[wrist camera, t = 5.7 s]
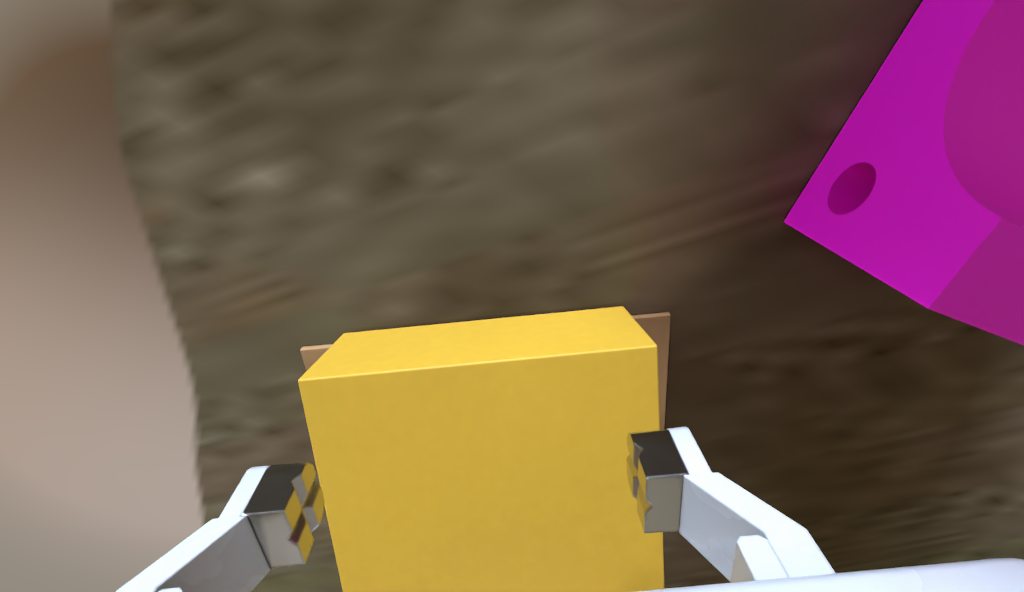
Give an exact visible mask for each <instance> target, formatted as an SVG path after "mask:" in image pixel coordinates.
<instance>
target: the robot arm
mask: <svg viewBox="0 0 1024 592" xmlns="http://www.w3.org/2000/svg"><path fill="white" fill-rule="evenodd" d="M627 447H628V450H629V453H630V455H629V456H628V457H627V475H628V481H629V486H630V490H631V493H632V496H633V497H634V498H635V499H637V512H638V515H639V518H640V521H641V524H642V528H643V531H644V533H657V532H673V531H679V533H680V534H681V535H682V536H683V537H684V538H685V539H686V540H687V541H688V542H689V543H690V544H691V545H692V546H694V547H695V548H696V549H697V550H698V551H699V552H700V553H701V554H702V555H703V556H704V557H705V558H706V559H707V560H708V561H709V562H710V563H711V564H712V565H713V566H714V567H716V568H717V569H718V570H719V571H720V572H721V573H722V574H723V575H724V576H725V577H726V578H727V579H728V580H729V581H730V583H723V584H711V585H700V586H689V587H678V588H667V589H656V590H645V591H634V592H1024V560H1023V559H1015V558H999V559H984V560H974V561H965V562H955V563H943V564H932V565H921V566H910V567H899V568H888V569H877V570H866V571H855V572H844V573H835V572H834V570H833V569H832V567H831V565H830V564H829V562H828V561H827V559H826V558H825V556H824V555H823V553H822V552H821V550H820V549H819V547H818V546H817V544H816V543H815V541H814V540H813V538H812V537H811V535H810V533H809V532H808V530H807V529H806V528H804V527H803V526H801V525H799V524H798V523H796V522H795V521H793V520H792V519H790V518H789V517H787V516H785V515H784V514H782V513H781V512H779V511H778V510H776V509H775V508H773V507H771V506H770V505H768V504H767V503H765V502H764V501H762V500H760V499H759V498H757V497H756V496H754V495H753V494H751V493H750V492H748V491H746V490H745V489H743V488H742V487H740V486H739V485H737V484H736V483H734V482H732V481H731V480H729V479H728V478H726V477H725V476H723V475H721V474H720V473H718V472H717V473H712V471H711V469H710V467H709V465H708V464H707V462H706V460H705V458H704V456H703V454H702V452H701V450H700V448H699V447H698V445H697V443H696V441H695V439H694V437H693V435H692V433H691V431H690V430H689V428H687V427H678V428H669V429H662V430H652V431H642V432H632V433H628V435H627ZM315 476H316V471H315V469H314V466H313V464H311V463H296V464H282V465H271V466H258V467H251V468H250V469H248V470H247V471H246V473H245V474H244V476H243V478H242V479H241V481H240V483H239V485H238V486H237V488H236V490H235V491H234V493H233V495H232V496H231V498H230V500H229V501H228V503H227V505H226V507H225V508H224V510H223V512H222V513H221V515H220V517H219V518H217V519H212V520H211V521H209V522H208V523H207V524H205V525H204V526H203V527H201V528H200V529H199V530H197V531H196V532H194V533H193V534H192V535H191V536H189V537H188V538H187V539H185V540H184V541H183V542H181V543H180V544H178V545H177V546H176V547H175V548H173V549H172V550H170V551H169V552H168V553H166V554H165V555H164V556H162V557H161V558H160V559H158V560H157V561H156V562H154V563H153V564H152V565H150V566H149V567H148V568H146V569H145V570H144V571H142V572H141V573H140V574H138V575H137V576H136V577H134V578H133V579H132V580H130V581H129V582H128V583H126V584H125V585H124V586H122V587H121V588H120V589H118V590H117V591H116V592H251V591H252V590H253V589H254V588H255V587H256V586H257V585H258V584H259V582H260V581H261V580H262V579H263V578H264V577H265V576H266V575H267V574H268V573H269V572H270V568H278V567H287V566H295V565H303V564H305V563H306V560H307V558H308V555H309V552H310V550H311V547H312V544H313V541H314V539H313V537H312V534H311V532H312V531H313V530H315V529H316V528H317V527H318V526H319V525H320V522H321V519H322V516H323V510H324V496H323V492H322V489H321V486H319V485H318V484H317V483H315V482H314V478H315Z"/></svg>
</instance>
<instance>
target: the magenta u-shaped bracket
mask: <svg viewBox="0 0 1024 592" xmlns="http://www.w3.org/2000/svg"><path fill="white" fill-rule="evenodd" d="M784 223H786V224H787V225H789V226H791V227H792V228H794V229H796V230H797V231H799V232H801V233H802V234H804V235H806V236H807V237H809V238H811V239H812V240H814V241H816V242H817V243H819V244H821V245H822V246H824V247H826V248H827V249H829V250H831V251H832V252H834V253H836V254H837V255H839V256H841V257H842V258H844V259H846V260H848V261H849V262H851V263H853V264H854V265H856V266H858V267H859V268H861V269H863V270H864V271H866V272H868V273H869V274H871V275H873V276H874V277H876V278H878V279H879V280H881V281H883V282H884V283H886V284H888V285H889V286H891V287H893V288H894V289H896V290H898V291H899V292H901V293H903V294H904V295H906V296H908V297H909V298H911V299H913V300H914V301H916V302H918V303H919V304H921V305H923V306H924V307H926V308H928V309H930V310H933V311H935V312H938V313H940V314H943V315H946V316H948V317H951V318H953V319H956V320H959V321H961V322H964V323H966V324H969V325H972V326H974V327H977V328H979V329H982V330H985V331H987V332H990V333H992V334H995V335H998V336H1000V337H1003V338H1005V339H1008V340H1011V341H1013V342H1016V343H1019V344H1021V345H1024V0H923V1H922V3H921V4H920V6H919V7H918V9H917V11H916V12H915V14H914V15H913V17H912V18H911V20H910V22H909V23H908V25H907V26H906V28H905V30H904V31H903V33H902V34H901V36H900V38H899V39H898V41H897V42H896V44H895V45H894V47H893V49H892V50H891V52H890V53H889V55H888V57H887V58H886V60H885V61H884V63H883V64H882V66H881V68H880V69H879V71H878V72H877V74H876V76H875V77H874V79H873V80H872V82H871V84H870V85H869V87H868V88H867V90H866V91H865V93H864V95H863V96H862V98H861V99H860V101H859V103H858V104H857V106H856V107H855V109H854V111H853V112H852V114H851V115H850V117H849V118H848V120H847V122H846V123H845V125H844V126H843V128H842V130H841V131H840V133H839V134H838V136H837V137H836V139H835V141H834V142H833V144H832V145H831V147H830V149H829V150H828V152H827V153H826V155H825V157H824V158H823V160H822V161H821V163H820V164H819V166H818V168H817V169H816V171H815V172H814V174H813V176H812V177H811V179H810V180H809V182H808V183H807V185H806V187H805V188H804V190H803V191H802V193H801V195H800V196H799V198H798V199H797V201H796V203H795V204H794V206H793V207H792V209H791V210H790V212H789V214H788V215H787V217H786V218H785V220H784Z"/></svg>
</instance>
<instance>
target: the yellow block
mask: <svg viewBox="0 0 1024 592" xmlns="http://www.w3.org/2000/svg"><path fill="white" fill-rule="evenodd" d="M298 383H299V388H300V392H301V397H302V402H303V406H304V411H305V416H306V420H307V425H308V430H309V434H310V439H311V444H312V449H313V453H314V458H315V463H316V467H317V472H318V477H319V481H320V486H321V489H322V492H323V496H324V505H325V509H326V514H327V519H328V523H329V528H330V533H331V538H332V542H333V547H334V552H335V556H336V561H337V566H338V570H339V575H340V580H341V584H342V589H343V592H634V591H645V590H656V589H664V556H663V532H657V533H644V531H643V528H642V524H641V521H640V518H639V515H638V512H637V499H635V498H634V497H633V496H632V493H631V490H630V486H629V481H628V475H627V457H628V456H629V455H630V453H629V450H628V447H627V435H628V433H632V432H642V431H652V430H660V414H659V379H658V347H657V345H656V344H655V342H654V341H653V340H652V339H651V338H650V337H649V336H648V334H647V333H646V332H645V331H644V330H643V329H642V328H641V326H640V325H639V324H638V323H637V322H636V321H635V319H634V318H633V317H632V316H631V315H630V314H629V313H628V311H627V310H626V309H625V308H624V307H622V306H621V307H611V308H601V309H590V310H580V311H570V312H559V313H549V314H538V315H528V316H518V317H507V318H497V319H487V320H476V321H466V322H456V323H445V324H435V325H425V326H414V327H404V328H394V329H383V330H373V331H363V332H352V333H344V334H343V335H342V336H341V337H340V338H339V339H338V340H337V341H336V342H335V343H334V344H333V345H332V346H331V347H330V348H329V349H328V350H327V351H326V352H325V353H324V354H323V355H322V356H321V357H320V358H319V359H318V360H317V361H316V362H315V363H314V364H313V365H312V366H311V367H310V368H309V369H308V370H307V371H306V372H305V373H304V374H303V375H302V376H301V378H300V379H299V380H298Z"/></svg>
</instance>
